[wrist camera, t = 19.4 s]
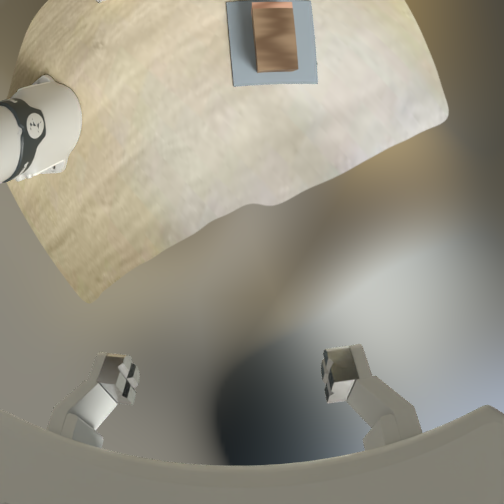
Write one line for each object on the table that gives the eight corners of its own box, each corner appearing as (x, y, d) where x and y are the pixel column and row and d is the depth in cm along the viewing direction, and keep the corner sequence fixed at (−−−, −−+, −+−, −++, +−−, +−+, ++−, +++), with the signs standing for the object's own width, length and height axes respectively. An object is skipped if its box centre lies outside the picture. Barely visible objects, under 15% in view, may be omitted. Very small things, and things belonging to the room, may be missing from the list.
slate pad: (234, 86, 34) (233, 86, 34) (226, 3, 27) (226, 2, 26) (317, 83, 34) (317, 83, 34) (310, 1, 26) (310, 0, 26)
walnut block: (258, 70, 29) (251, 2, 23) (256, 72, 33) (251, 12, 27) (298, 69, 29) (292, 1, 23) (292, 71, 33) (286, 11, 27)
